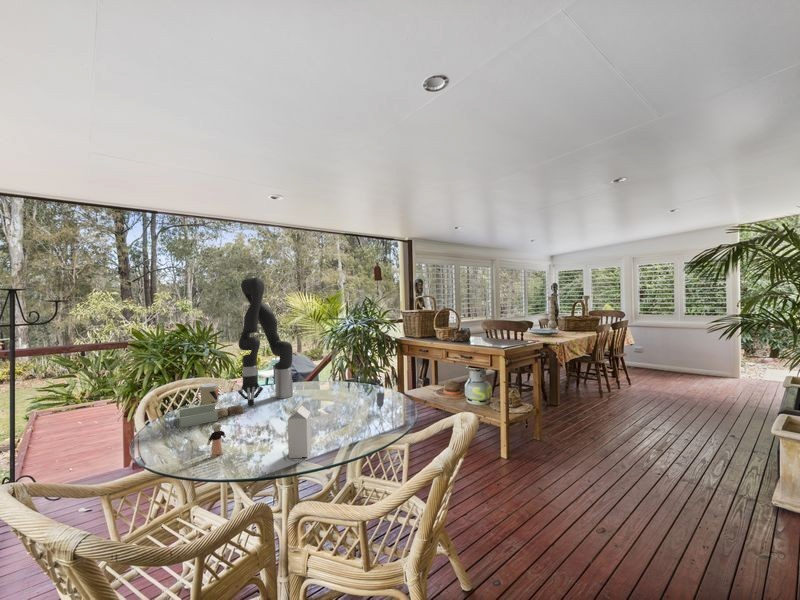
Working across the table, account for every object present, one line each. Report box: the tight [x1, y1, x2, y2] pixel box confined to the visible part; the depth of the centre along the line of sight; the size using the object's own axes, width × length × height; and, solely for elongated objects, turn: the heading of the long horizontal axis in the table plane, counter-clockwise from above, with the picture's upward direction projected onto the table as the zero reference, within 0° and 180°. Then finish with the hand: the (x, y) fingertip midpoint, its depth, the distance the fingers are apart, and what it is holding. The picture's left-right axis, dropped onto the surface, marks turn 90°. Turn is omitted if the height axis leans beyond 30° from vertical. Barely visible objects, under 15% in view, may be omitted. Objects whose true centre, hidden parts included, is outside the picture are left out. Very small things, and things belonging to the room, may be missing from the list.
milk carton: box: [287, 402, 312, 459], centre depth 136 cm, size 7×7×19 cm
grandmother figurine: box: [206, 421, 227, 459], centre depth 137 cm, size 8×4×13 cm, turn 164°
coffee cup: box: [199, 382, 220, 407], centre depth 197 cm, size 9×9×12 cm
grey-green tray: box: [176, 403, 219, 429], centre depth 176 cm, size 17×15×4 cm
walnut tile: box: [227, 404, 244, 416], centre depth 186 cm, size 6×6×3 cm
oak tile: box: [213, 407, 229, 419], centre depth 182 cm, size 6×6×3 cm
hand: (250, 406), depth 190 cm, fingers closed
